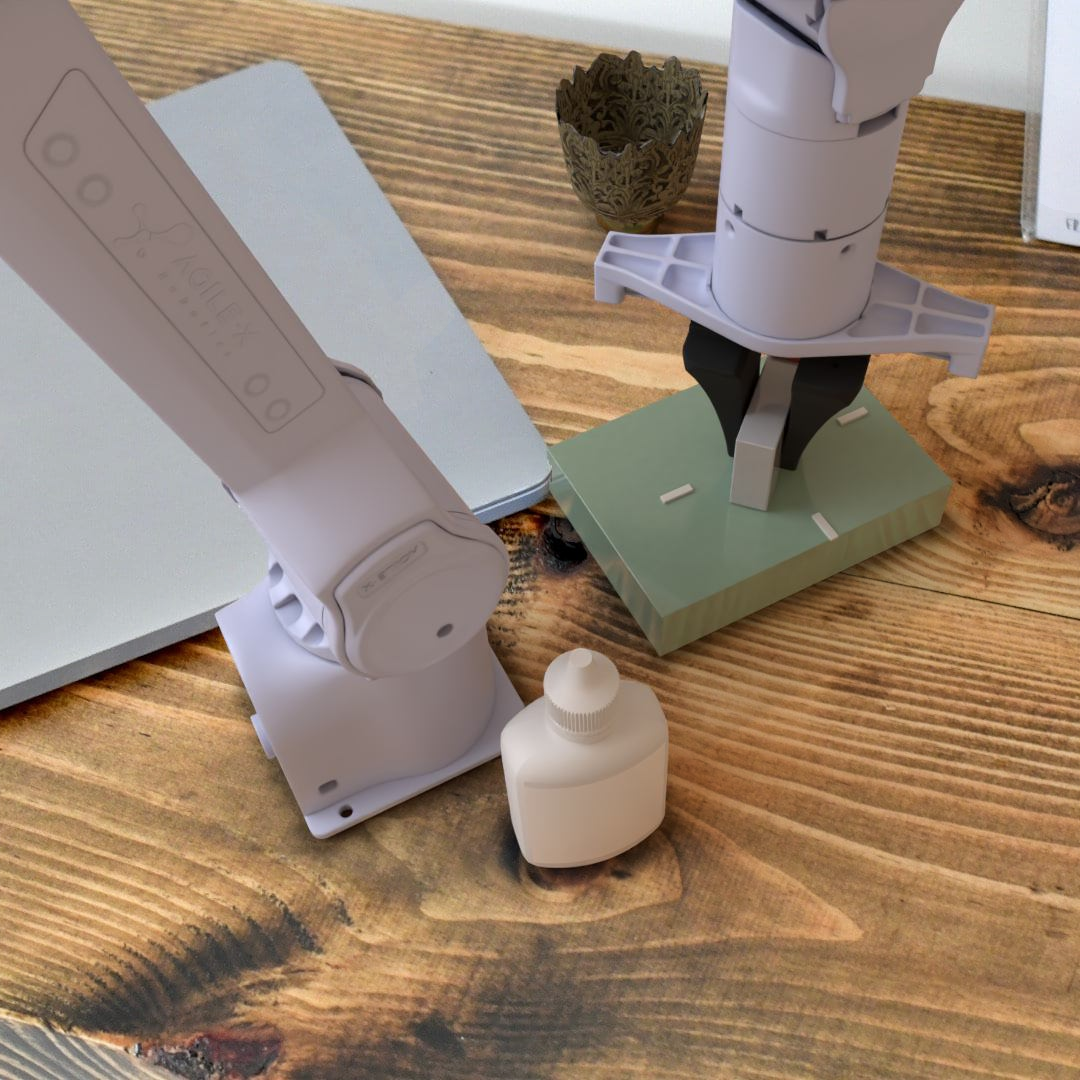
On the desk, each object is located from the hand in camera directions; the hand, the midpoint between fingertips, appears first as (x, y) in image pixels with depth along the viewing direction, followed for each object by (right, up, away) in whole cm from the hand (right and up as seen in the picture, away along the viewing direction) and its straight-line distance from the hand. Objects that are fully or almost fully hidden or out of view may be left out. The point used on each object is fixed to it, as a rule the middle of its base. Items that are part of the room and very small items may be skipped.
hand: (767, 446), depth 55 cm
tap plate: (-1, -2, +3) cm, 4 cm away
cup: (-5, +13, +14) cm, 20 cm away
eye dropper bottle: (-8, -15, -6) cm, 18 cm away
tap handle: (0, 0, 0) cm, 1 cm away
